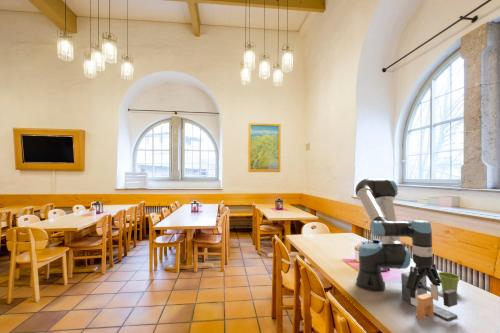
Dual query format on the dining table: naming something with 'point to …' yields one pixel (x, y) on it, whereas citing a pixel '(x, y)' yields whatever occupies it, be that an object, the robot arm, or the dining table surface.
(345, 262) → the dining table surface
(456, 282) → the plant pot
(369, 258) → the robot arm
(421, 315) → the block
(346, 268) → the dining table surface
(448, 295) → the shaft
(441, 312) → the block
